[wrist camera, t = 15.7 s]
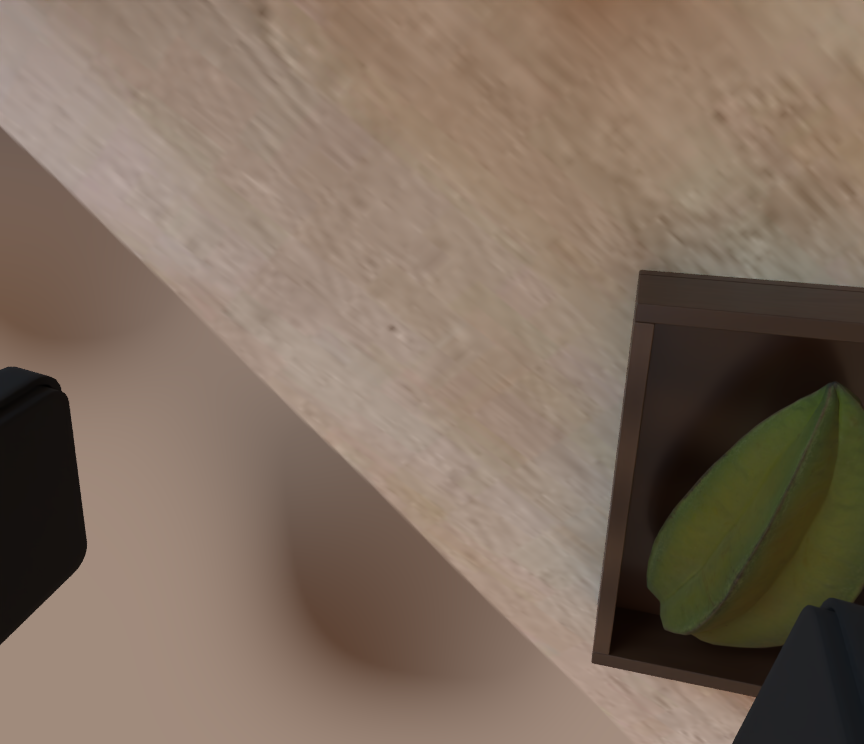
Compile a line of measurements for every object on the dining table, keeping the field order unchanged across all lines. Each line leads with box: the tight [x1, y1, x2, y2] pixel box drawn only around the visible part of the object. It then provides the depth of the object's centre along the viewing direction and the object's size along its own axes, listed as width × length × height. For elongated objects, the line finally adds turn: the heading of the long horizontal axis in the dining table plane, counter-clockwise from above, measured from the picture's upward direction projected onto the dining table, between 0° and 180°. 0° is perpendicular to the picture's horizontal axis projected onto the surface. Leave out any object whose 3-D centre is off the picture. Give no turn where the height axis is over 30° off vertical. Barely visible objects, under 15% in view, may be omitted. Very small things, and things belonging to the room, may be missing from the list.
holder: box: [592, 270, 864, 697], centre depth 33 cm, size 20×13×4 cm, turn 1°
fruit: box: [647, 382, 864, 648], centre depth 32 cm, size 11×12×7 cm
